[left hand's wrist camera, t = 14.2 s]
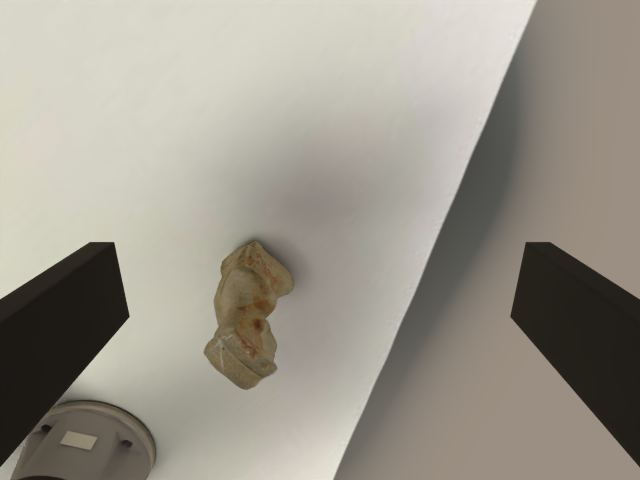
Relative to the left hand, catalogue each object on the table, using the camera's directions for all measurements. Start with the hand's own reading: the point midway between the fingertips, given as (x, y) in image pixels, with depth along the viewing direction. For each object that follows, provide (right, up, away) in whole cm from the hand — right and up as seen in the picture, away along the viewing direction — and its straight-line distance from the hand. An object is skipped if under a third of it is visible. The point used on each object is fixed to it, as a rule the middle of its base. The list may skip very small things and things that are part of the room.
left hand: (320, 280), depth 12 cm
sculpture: (-6, -1, +28) cm, 29 cm away
